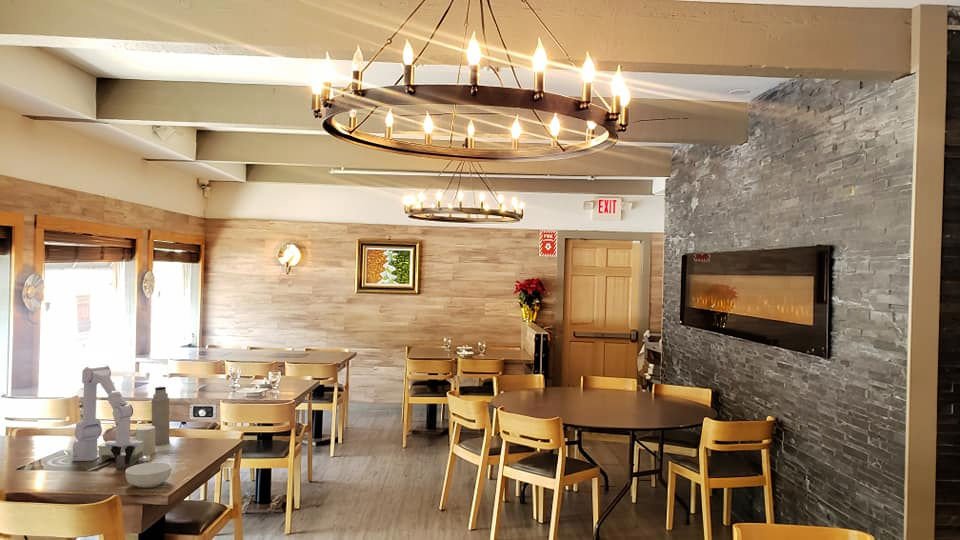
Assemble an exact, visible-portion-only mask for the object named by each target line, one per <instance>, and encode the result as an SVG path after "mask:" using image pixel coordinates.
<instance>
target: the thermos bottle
mask: <svg viewBox="0 0 960 540" xmlns="http://www.w3.org/2000/svg"><path fill="white" fill-rule="evenodd" d="M166 388H167V387H166V386H157V387H155V388H154V391H155V392H154V393H153V395H152V398H151V426H155V446H163V444H164V445H168V444H169V443H170V397H169V393H167V390H166ZM167 443H168V444H167Z"/></svg>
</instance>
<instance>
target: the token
mask: <svg viewBox="0 0 960 540" xmlns="http://www.w3.org/2000/svg"><path fill="white" fill-rule="evenodd" d="M149 461H150V462H151V454H150V455H143V456H139V457H138V461H137V463H138V462H139V463H138V464H143V463H144V462H147V463H150V462H149Z"/></svg>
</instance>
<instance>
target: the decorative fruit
mask: <svg viewBox="0 0 960 540" xmlns="http://www.w3.org/2000/svg"><path fill="white" fill-rule="evenodd" d="M102 439H103V441H104V443H105V442H107V441H116V426H112V427H109V428H107V429H106V430H105V431H104V432H103V434H102Z"/></svg>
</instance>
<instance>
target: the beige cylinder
mask: <svg viewBox="0 0 960 540" xmlns="http://www.w3.org/2000/svg"><path fill="white" fill-rule="evenodd" d="M135 438H136V439H135V441H145V442H144V455H148V454H150V455H153V454H155V453H156V445H155V426H152V425H145V426H144V425H142V426H138V427H136V428H135ZM152 453H153V454H152Z"/></svg>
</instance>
